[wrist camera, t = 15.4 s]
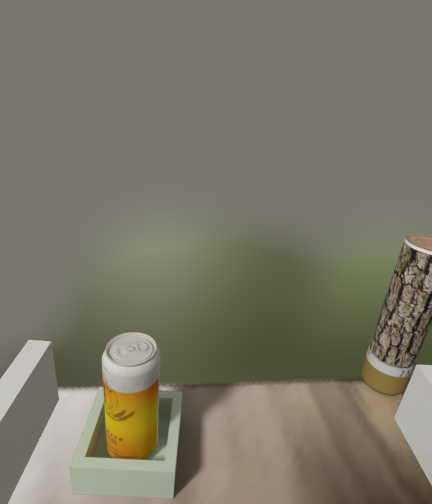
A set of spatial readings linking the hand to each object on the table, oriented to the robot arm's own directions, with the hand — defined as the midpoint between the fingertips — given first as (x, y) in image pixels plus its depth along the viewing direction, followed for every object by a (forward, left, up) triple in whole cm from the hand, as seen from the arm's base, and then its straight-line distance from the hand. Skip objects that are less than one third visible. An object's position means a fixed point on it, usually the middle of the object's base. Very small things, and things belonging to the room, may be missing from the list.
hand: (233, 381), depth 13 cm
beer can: (+8, -20, -31) cm, 38 cm away
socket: (+8, -20, -32) cm, 39 cm away
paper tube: (-30, -35, -32) cm, 56 cm away
